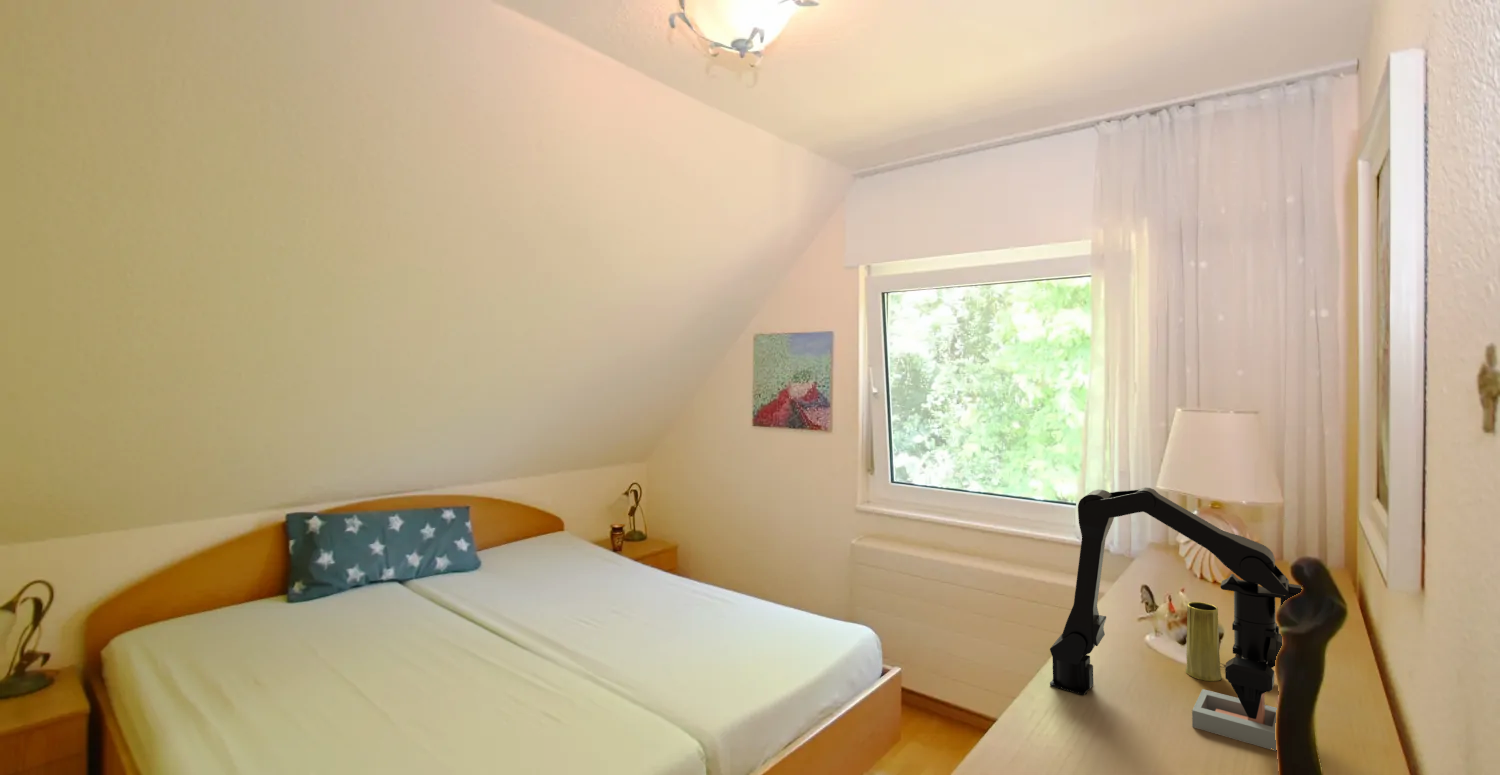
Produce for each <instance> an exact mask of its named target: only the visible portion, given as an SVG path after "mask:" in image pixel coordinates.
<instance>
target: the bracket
mask: <svg viewBox="0 0 1500 775" xmlns="http://www.w3.org/2000/svg"><path fill="white" fill-rule="evenodd" d="M1265 693H1266V692H1265ZM1265 693H1263V694H1262V697H1261V701H1260V705H1259V709H1258V714H1257V718H1256V719H1253V718H1249V717H1246V716H1243V715H1239V714H1235V713H1231V712H1228V711H1224V710H1220V709H1216V710H1215V711H1216V712H1219V713H1223V714H1227V715H1231V716H1234V717H1238V718H1242V719H1245V720H1249V721H1253V722H1257V723H1260V724H1264V725H1265V705H1266V704H1265V703H1266V702H1265V701H1266V699H1265V697H1266V696H1265V695H1266V694H1265Z"/></svg>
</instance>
